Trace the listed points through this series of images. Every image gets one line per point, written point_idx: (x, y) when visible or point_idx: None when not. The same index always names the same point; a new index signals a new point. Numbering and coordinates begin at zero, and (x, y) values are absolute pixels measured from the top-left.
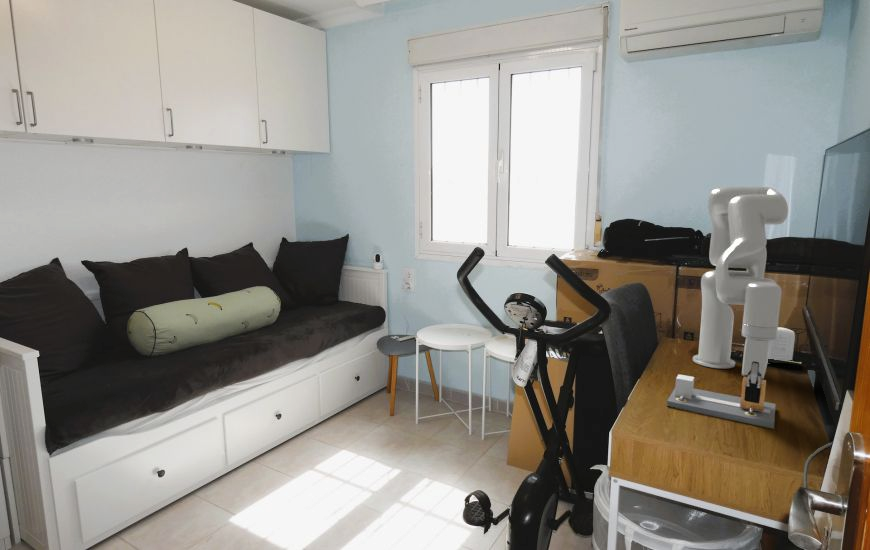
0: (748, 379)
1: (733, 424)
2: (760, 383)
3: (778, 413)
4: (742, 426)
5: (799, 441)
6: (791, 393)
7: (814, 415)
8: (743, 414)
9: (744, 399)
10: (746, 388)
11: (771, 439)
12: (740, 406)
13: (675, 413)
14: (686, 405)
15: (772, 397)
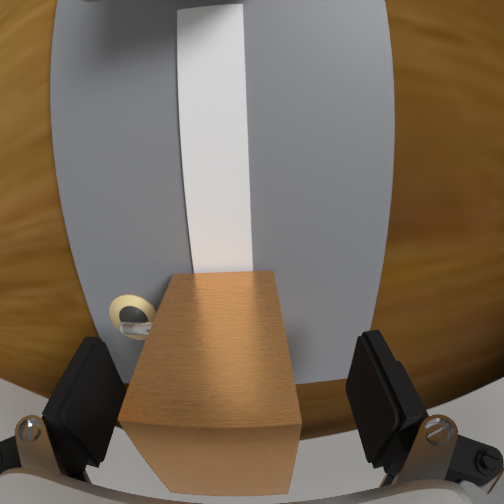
0: (24, 465)
1: (49, 246)
2: (177, 483)
3: None
4: (58, 278)
5: None
6: (496, 353)
7: (344, 427)
8: (107, 289)
9: (85, 339)
10: (53, 402)
11: (45, 352)
12: (172, 277)
13: (21, 25)
14: (56, 24)
15: (466, 328)
